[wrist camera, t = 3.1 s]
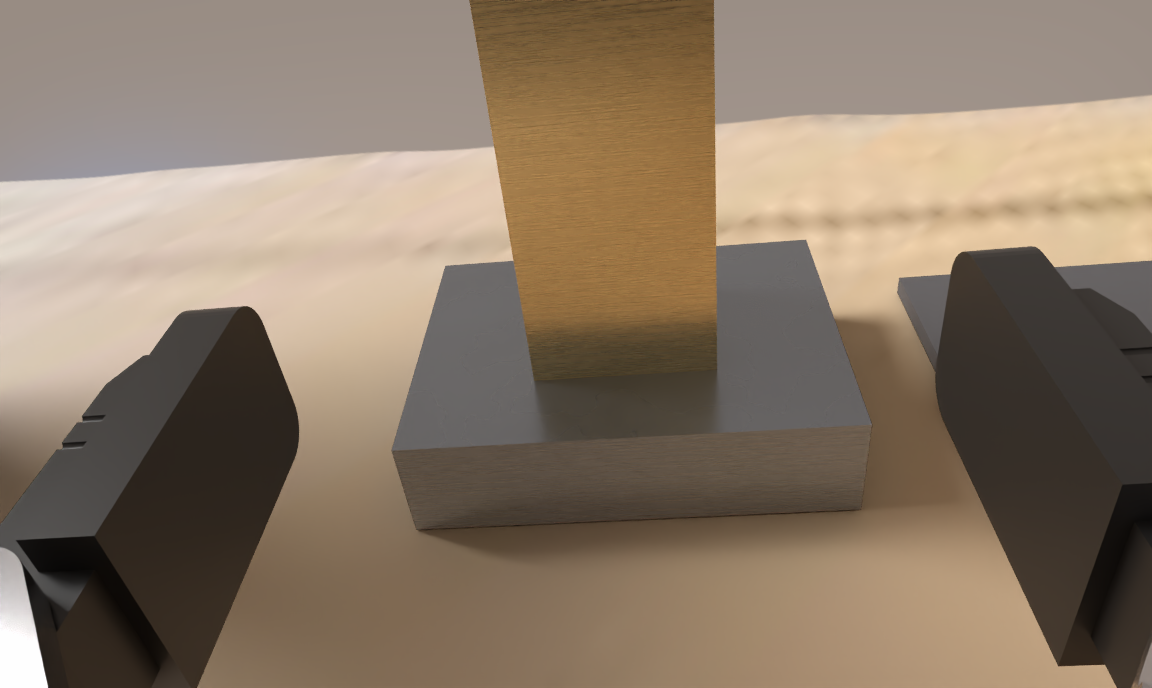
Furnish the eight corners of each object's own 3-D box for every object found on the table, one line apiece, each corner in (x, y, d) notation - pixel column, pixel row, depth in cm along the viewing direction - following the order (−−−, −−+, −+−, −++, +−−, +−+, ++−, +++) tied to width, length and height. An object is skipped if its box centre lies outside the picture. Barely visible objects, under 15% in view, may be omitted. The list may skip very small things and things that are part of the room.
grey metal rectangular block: (416, 529, 24) (391, 450, 22) (461, 337, 31) (445, 265, 29) (860, 509, 23) (872, 424, 21) (801, 314, 30) (806, 239, 28)
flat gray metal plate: (1012, 533, 22) (1017, 516, 22) (897, 292, 31) (899, 278, 30) (1488, 512, 21) (1500, 495, 21) (1228, 270, 30) (1234, 255, 29)
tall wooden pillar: (534, 380, 24) (452, -100, 17) (543, 299, 27) (477, -133, 20) (717, 369, 24) (712, -129, 16) (704, 288, 27) (696, -157, 20)
